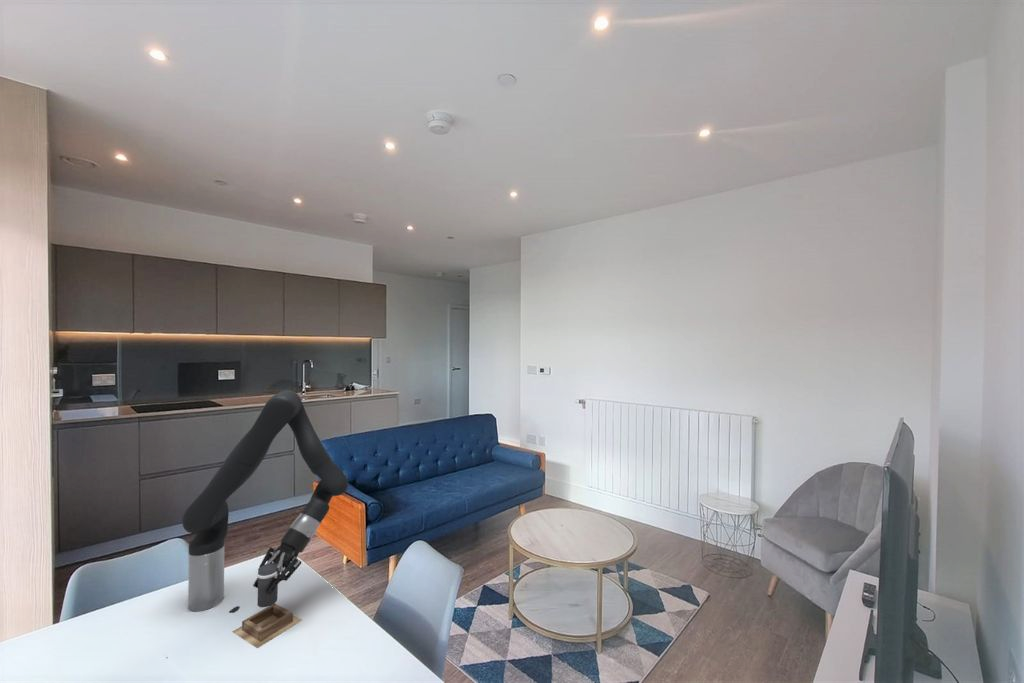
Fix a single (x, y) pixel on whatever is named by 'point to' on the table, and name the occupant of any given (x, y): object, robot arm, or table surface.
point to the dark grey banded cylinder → (264, 578)
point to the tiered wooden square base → (266, 625)
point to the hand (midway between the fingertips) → (261, 590)
